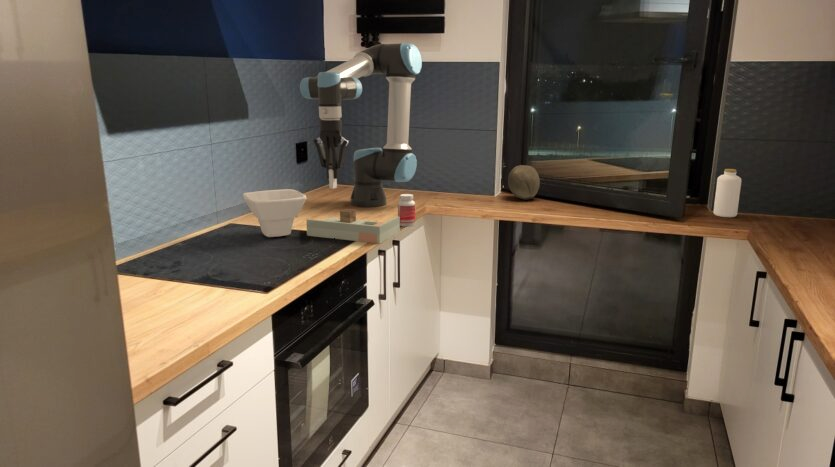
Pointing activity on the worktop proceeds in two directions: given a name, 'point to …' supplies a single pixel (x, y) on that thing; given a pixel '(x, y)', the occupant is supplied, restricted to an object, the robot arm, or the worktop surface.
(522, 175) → the cantaloupe
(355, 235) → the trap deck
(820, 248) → the worktop surface
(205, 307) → the worktop surface
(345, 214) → the walnut block
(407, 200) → the pill bottle
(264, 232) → the bowl
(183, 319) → the worktop surface
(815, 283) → the worktop surface
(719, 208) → the potion bottle
